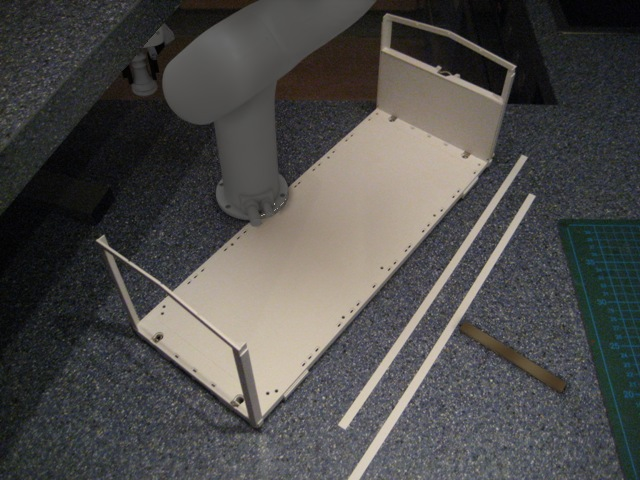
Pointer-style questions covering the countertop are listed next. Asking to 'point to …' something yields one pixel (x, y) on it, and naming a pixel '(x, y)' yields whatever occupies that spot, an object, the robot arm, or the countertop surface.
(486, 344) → the stick
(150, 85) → the rook chess piece
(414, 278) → the countertop surface
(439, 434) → the countertop surface
